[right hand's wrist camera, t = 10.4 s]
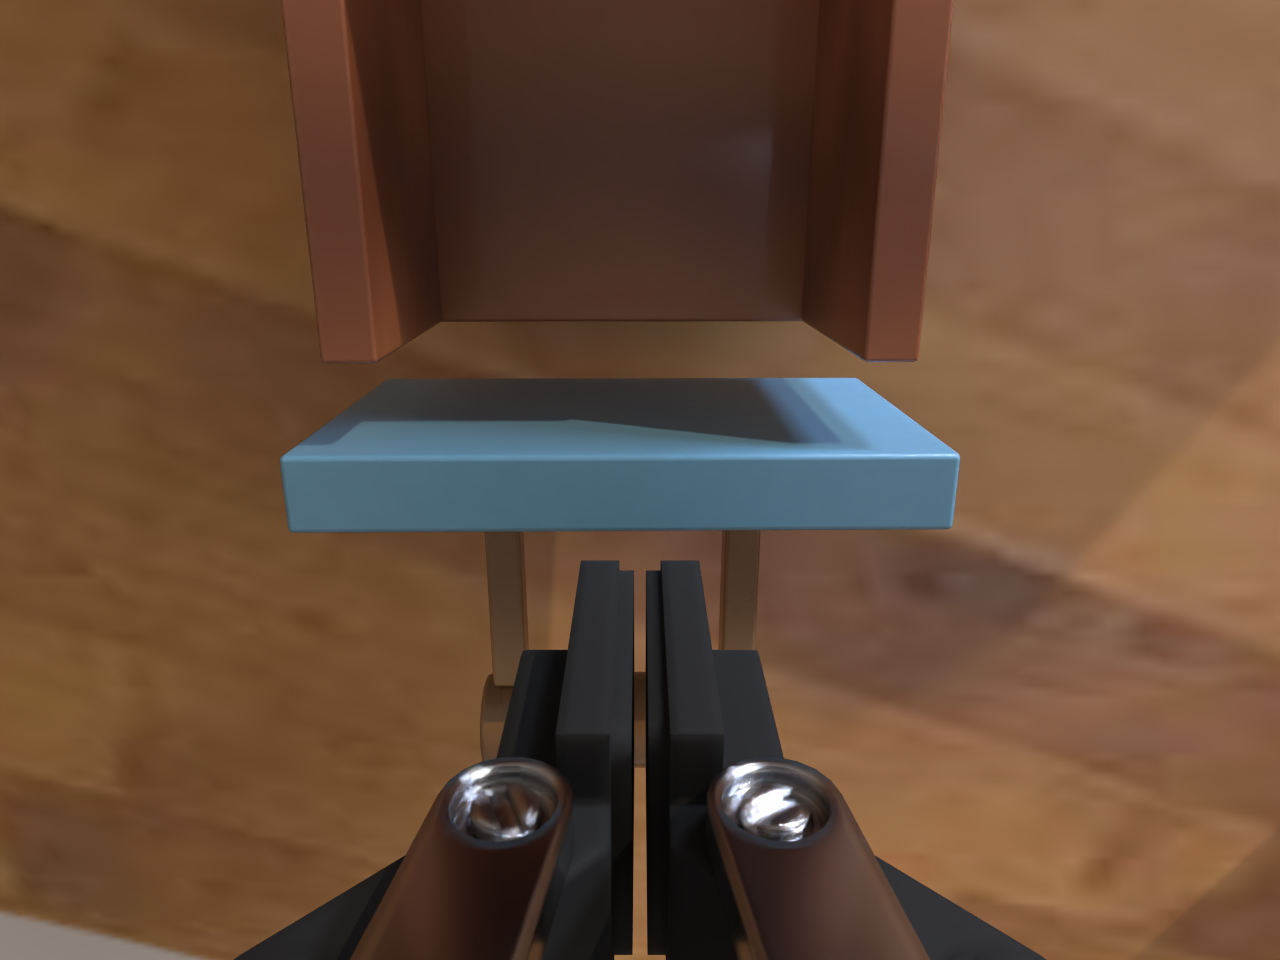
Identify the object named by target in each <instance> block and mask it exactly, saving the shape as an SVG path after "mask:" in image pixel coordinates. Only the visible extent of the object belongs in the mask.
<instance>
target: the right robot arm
mask: <svg viewBox="0 0 1280 960" xmlns="http://www.w3.org/2000/svg"><path fill="white" fill-rule="evenodd" d="M633 840H634V571H619V561H581V564H580V571H579V578H578V585H577V591H576V598H575V605H574V612H573V619H572V625H571V632H570V639H569V646H568V650H524V651H522V654H521V657H520V661H519V666H518V670H517V674H516V678H515V682H514V686H513V691H512V695H511V699H510V703H509V707H508V711H507V716H506V720H505V724H504V728H503V732H502V736H501V741H500V745H499V749H498V753H497V757H496V759H492V760H487V761H482V762H480V763H478V764H476V765H473V766H471V767H469V768H466V769H464V770H463V771H461V772H460V773H459V774H457V775H456V776H454V777H453V778H452V779H450V780H449V781H448V782H447V784H446V785H445V786H444V788H443V789H442V790H441V791H440V793H439V794H438V796H437V798H436V799H435V801H434V803H433V805H432V807H431V809H430V811H429V813H428V814H427V816H426V818H425V820H424V822H423V824H422V826H421V828H420V829H419V831H418V833H417V835H416V837H415V839H414V841H413V842H412V844H411V846H410V848H409V850H408V852H407V854H406V855H405V856H404V857H402V858H400V859H399V860H397V861H395V862H394V863H392V864H390V865H389V866H387V867H385V868H384V869H382V870H380V871H379V872H377V873H375V874H374V875H372V876H370V877H369V878H367V879H365V880H364V881H362V882H360V883H359V884H357V885H355V886H354V887H352V888H351V889H349V890H347V891H346V892H344V893H342V894H341V895H339V896H337V897H336V898H334V899H332V900H331V901H329V902H327V903H326V904H324V905H322V906H321V907H319V908H317V909H316V910H314V911H312V912H311V913H309V914H307V915H306V916H304V917H302V918H301V919H299V920H297V921H296V922H294V923H292V924H291V925H289V926H287V927H286V928H284V929H283V930H281V931H279V932H278V933H276V934H274V935H273V936H271V937H269V938H268V939H266V940H264V941H263V942H261V943H259V944H258V945H256V946H254V947H253V948H251V949H249V950H248V951H246V952H244V953H243V954H241V955H239V956H238V957H237V958H235V959H234V960H614V955H632V944H633ZM646 840H647V945H648V955H666V960H1046V959H1045V958H1043V957H1042V956H1041V955H1039V954H1037V953H1036V952H1034V951H1032V950H1031V949H1029V948H1027V947H1026V946H1024V945H1022V944H1021V943H1019V942H1017V941H1016V940H1014V939H1012V938H1011V937H1009V936H1007V935H1006V934H1004V933H1002V932H1001V931H999V930H997V929H996V928H994V927H993V926H991V925H989V924H988V923H986V922H984V921H983V920H981V919H979V918H978V917H976V916H974V915H973V914H971V913H969V912H968V911H966V910H964V909H963V908H961V907H959V906H958V905H956V904H954V903H953V902H951V901H949V900H948V899H946V898H944V897H943V896H941V895H939V894H938V893H936V892H934V891H933V890H931V889H929V888H928V887H926V886H925V885H923V884H921V883H920V882H918V881H916V880H915V879H913V878H911V877H910V876H908V875H906V874H905V873H903V872H901V871H900V870H898V869H896V868H895V867H893V866H891V865H890V864H888V863H886V862H885V861H883V860H881V859H880V858H878V857H876V856H875V855H874V854H873V852H872V850H871V848H870V846H869V844H868V842H867V841H866V839H865V837H864V835H863V833H862V831H861V829H860V828H859V826H858V824H857V822H856V820H855V818H854V816H853V814H852V813H851V811H850V809H849V807H848V805H847V803H846V801H845V800H844V798H843V796H842V794H841V793H840V791H839V790H838V789H837V788H836V786H835V785H834V784H833V782H832V781H831V780H830V779H828V778H827V777H826V776H824V775H823V774H821V773H820V772H819V771H817V770H816V769H814V768H811V767H809V766H807V765H804V764H802V763H800V762H798V761H793V760H788V759H784V757H783V753H782V749H781V745H780V741H779V737H778V732H777V728H776V724H775V720H774V716H773V711H772V707H771V703H770V699H769V695H768V691H767V686H766V682H765V678H764V674H763V670H762V666H761V661H760V657H759V654H758V651H756V650H712V646H711V639H710V632H709V626H708V619H707V612H706V605H705V598H704V591H703V585H702V578H701V571H700V564H699V561H661V571H646Z"/></svg>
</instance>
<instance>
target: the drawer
mask: <svg viewBox="0 0 1280 960" xmlns="http://www.w3.org/2000/svg"><path fill="white" fill-rule="evenodd" d="M953 3H954V0H281V5H282V14H283V23H284V32H285V41H286V50H287V59H288V68H289V77H290V86H291V94H292V103H293V112H294V121H295V130H296V139H297V148H298V157H299V166H300V175H301V184H302V193H303V202H304V211H305V220H306V228H307V237H308V246H309V255H310V264H311V273H312V282H313V291H314V300H315V309H316V318H317V327H318V336H319V345H320V354H321V360H322V362H324V363H375V362H377V361H379V360H381V359H382V358H384V357H385V356H387V355H389V354H390V353H392V352H393V351H395V350H397V349H398V348H400V347H401V346H403V345H405V344H406V343H408V342H409V341H411V340H412V339H414V338H416V337H417V336H419V335H420V334H422V333H424V332H425V331H427V330H428V329H430V328H432V327H433V326H435V325H436V324H438V323H440V322H522V321H804V322H805V323H807V324H808V325H810V326H811V327H813V328H814V329H816V330H817V331H819V332H821V333H822V334H824V335H825V336H827V337H828V338H830V339H831V340H833V341H834V342H836V343H838V344H839V345H841V346H842V347H844V348H845V349H847V350H848V351H850V352H851V353H853V354H855V355H856V356H858V357H859V358H861V359H862V360H864V361H866V362H914V361H917V359H918V357H919V347H920V337H921V327H922V317H923V307H924V297H925V287H926V276H927V266H928V256H929V246H930V236H931V226H932V216H933V206H934V196H935V185H936V175H937V165H938V155H939V145H940V135H941V125H942V115H943V105H944V94H945V84H946V74H947V64H948V54H949V44H950V34H951V24H952V14H953ZM959 463H960V456H959V454H958V453H957V452H955V451H954V450H953V449H951V448H950V447H949V446H947V445H946V444H945V443H943V442H942V441H940V440H939V439H938V438H936V437H935V436H934V435H932V434H931V433H930V432H928V431H927V430H926V429H924V428H923V427H922V426H920V425H919V424H918V423H916V422H915V421H914V420H912V419H911V418H910V417H908V416H907V415H906V414H904V413H903V412H901V411H900V410H899V409H897V408H896V407H895V406H893V405H892V404H891V403H889V402H888V401H887V400H885V399H884V398H883V397H881V396H880V395H879V394H877V393H876V392H875V391H873V390H872V389H871V388H869V387H868V386H867V385H865V384H864V383H863V382H861V381H860V380H858V379H856V378H633V379H388V380H386V381H384V382H383V383H382V384H380V385H379V386H377V387H376V388H375V389H373V390H372V391H371V392H369V393H368V394H366V395H365V396H364V397H362V398H361V399H360V400H358V401H357V402H355V403H354V404H353V405H351V406H350V407H349V408H347V409H346V410H344V411H343V412H342V413H340V414H339V415H338V416H336V417H335V418H333V419H332V420H331V421H329V422H328V423H327V424H325V425H324V426H323V427H321V428H320V429H318V430H317V431H316V432H314V433H313V434H312V435H310V436H309V437H307V438H306V439H305V440H303V441H302V442H301V443H299V444H298V445H296V446H295V447H294V448H292V449H291V450H290V451H288V452H287V453H285V454H284V455H283V456H281V459H280V467H281V475H282V482H283V490H284V498H285V505H286V513H287V520H288V528H289V530H290V532H294V533H317V532H485V543H486V560H487V578H488V595H489V612H490V630H491V647H492V664H493V673H492V674H490V675H489V676H488V677H487V680H486V682H485V686H484V690H483V696H482V704H481V717H480V745H481V754H482V759H483V761H487V760H492V759H496V757H497V753H498V749H499V745H500V741H501V736H502V732H503V728H504V724H505V720H506V716H507V711H508V707H509V703H510V699H511V695H512V691H513V686H514V682H515V678H516V674H517V670H518V666H519V661H520V657H521V654H522V651H524V650H529V646H528V623H527V600H526V577H525V553H524V531H692V530H722V554H721V585H720V617H719V648H718V650H755V636H756V615H757V593H758V571H759V549H760V530H880V529H949V528H951V526H952V523H953V514H954V506H955V497H956V489H957V480H958V472H959ZM634 768H646V672H634Z"/></svg>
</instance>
